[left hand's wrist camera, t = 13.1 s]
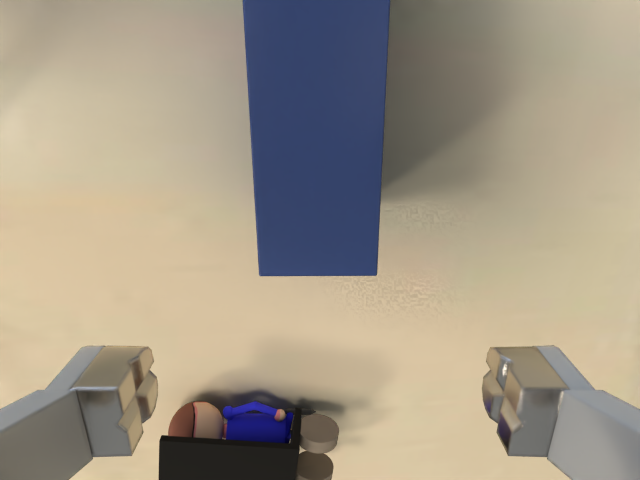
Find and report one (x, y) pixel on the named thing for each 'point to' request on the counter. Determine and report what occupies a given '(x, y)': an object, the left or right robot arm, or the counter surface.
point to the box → (317, 132)
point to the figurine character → (246, 444)
